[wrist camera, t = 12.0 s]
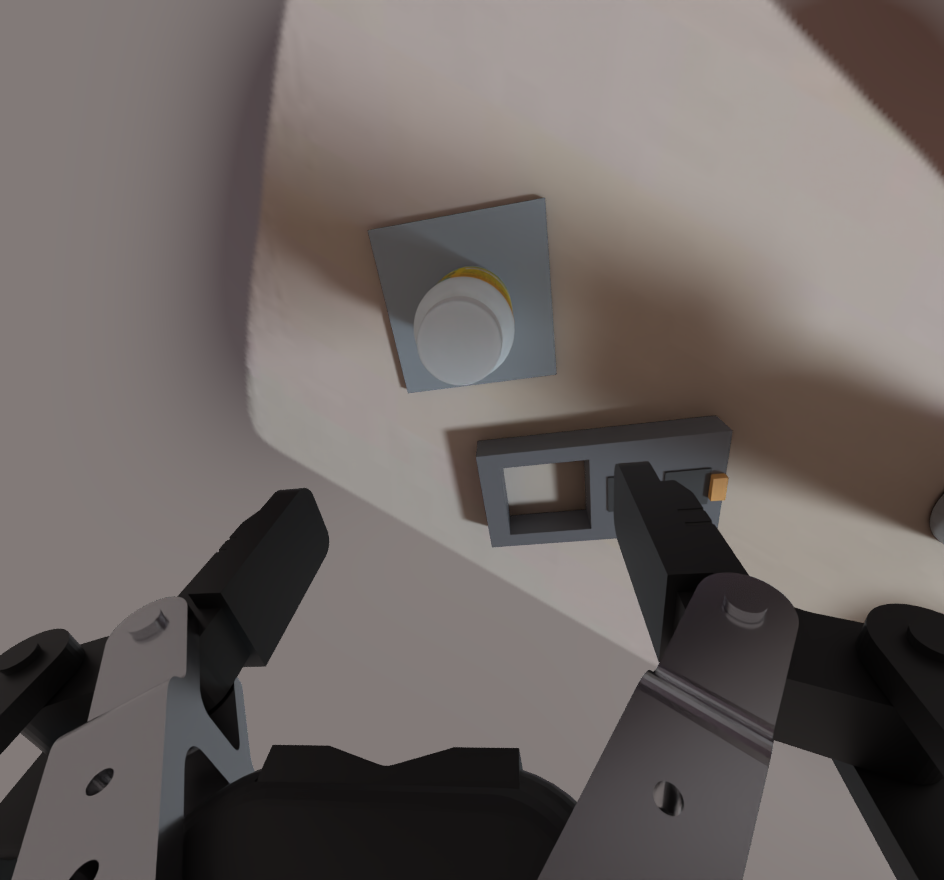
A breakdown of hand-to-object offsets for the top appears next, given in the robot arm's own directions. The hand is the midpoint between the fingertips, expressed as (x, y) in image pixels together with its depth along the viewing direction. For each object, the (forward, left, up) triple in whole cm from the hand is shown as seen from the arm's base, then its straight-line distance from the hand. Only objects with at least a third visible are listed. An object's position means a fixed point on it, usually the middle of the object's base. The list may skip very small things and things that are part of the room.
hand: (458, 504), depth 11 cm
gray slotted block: (-7, +13, -20) cm, 25 cm away
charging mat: (+1, -2, -20) cm, 20 cm away
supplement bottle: (+1, -2, -20) cm, 20 cm away
